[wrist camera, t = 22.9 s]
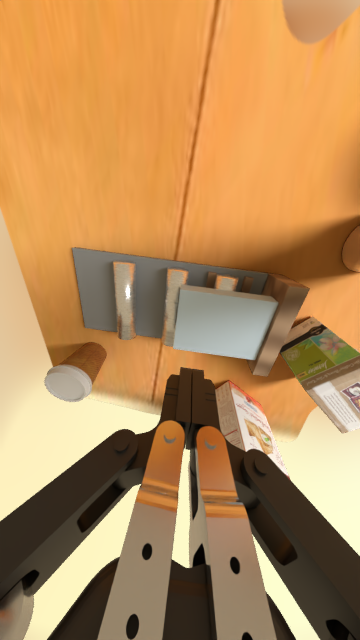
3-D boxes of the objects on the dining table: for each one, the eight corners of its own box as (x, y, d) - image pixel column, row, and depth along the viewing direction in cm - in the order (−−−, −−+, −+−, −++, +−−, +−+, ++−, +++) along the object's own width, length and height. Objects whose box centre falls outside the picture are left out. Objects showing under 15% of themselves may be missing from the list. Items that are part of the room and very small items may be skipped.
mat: (75, 247, 34) (72, 247, 33) (266, 272, 34) (268, 274, 33) (87, 325, 43) (85, 327, 42) (240, 347, 42) (241, 349, 41)
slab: (181, 284, 31) (180, 289, 28) (271, 296, 31) (278, 302, 28) (174, 340, 36) (173, 348, 34) (250, 350, 36) (255, 360, 33)
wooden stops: (209, 265, 34) (213, 275, 26) (282, 275, 34) (309, 288, 26) (194, 340, 42) (195, 366, 34) (253, 349, 42) (267, 376, 34)
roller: (222, 347, 39) (213, 354, 37) (208, 339, 42) (198, 346, 39) (242, 278, 32) (232, 280, 29) (223, 272, 34) (212, 274, 32)
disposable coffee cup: (92, 369, 49) (64, 407, 39) (69, 343, 46) (32, 378, 35) (119, 359, 47) (97, 397, 36) (98, 332, 43) (66, 365, 33)
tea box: (269, 340, 41) (304, 392, 28) (312, 314, 37) (376, 360, 24) (300, 376, 45) (343, 436, 32) (341, 357, 41) (409, 416, 28)
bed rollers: (118, 259, 34) (109, 262, 30) (189, 268, 34) (188, 273, 30) (121, 329, 41) (114, 338, 38) (179, 337, 41) (178, 347, 37)
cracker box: (262, 403, 51) (301, 503, 32) (245, 412, 53) (273, 510, 34) (229, 378, 47) (252, 474, 29) (213, 389, 49) (224, 484, 31)
